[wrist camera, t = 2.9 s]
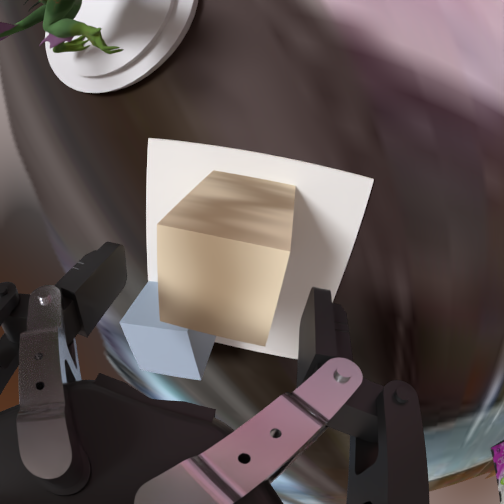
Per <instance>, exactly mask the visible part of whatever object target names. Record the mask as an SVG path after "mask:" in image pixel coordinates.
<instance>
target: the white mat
mask: <svg viewBox="0 0 504 504" xmlns="http://www.w3.org/2000/svg"><path fill="white" fill-rule="evenodd" d="M213 170H215V171H221V172H227V173H232V174H238V175H244V176H249V177H254V178H260V179H265V180H270V181H275V182H280V183H285V184H290V185H294V186H295V200H294V214H293V226H292V238H291V250H290V255H289V259H288V263H287V267H286V271H285V275H284V279H283V283H282V287H281V290H280V294H279V298H278V302H277V306H276V309H275V313H274V317H273V321H272V324H271V328H270V332H269V335H268V339H267V343H266V346H265V347H264V346H259V345H255V344H250V343H245V342H241V341H236V340H232V339H227V338H223V337H219V336H216V338H215V341H214V342H217V343H221V344H225V345H230V346H234V347H239V348H243V349H248V350H252V351H257V352H262V353H267V354H272V355H277V356H282V357H288V358H293V359H298V350H299V327H300V321H301V317H302V314H303V311H304V308H305V305H306V302H307V299H308V296H309V293H310V290H311V288H312V287H317V288H322V289H327V290H330V291H331V297H332V303H333V300H334V298H335V295H336V292H337V290H338V287H339V284H340V282H341V279H342V276H343V274H344V271H345V268H346V265H347V263H348V260H349V257H350V254H351V251H352V248H353V245H354V242H355V239H356V236H357V233H358V230H359V227H360V224H361V221H362V218H363V215H364V212H365V208H366V205H367V202H368V198H369V195H370V192H371V188H372V185H373V181H374V179H372V178H368V177H365V176H361V175H357V174H354V173H350V172H346V171H342V170H338V169H334V168H330V167H325V166H321V165H317V164H312V163H308V162H303V161H299V160H294V159H289V158H284V157H279V156H274V155H269V154H263V153H258V152H252V151H246V150H240V149H234V148H228V147H221V146H215V145H208V144H200V143H193V142H184V141H176V140H167V139H157V138H148V156H147V188H146V232H147V264H148V282H149V281H154V282H158V274H157V224H158V223H159V222H160V221H161V220H162V219H163V218H164V217H165V216H166V215H167V214H168V213H169V212H170V211H171V210H172V209H173V208H174V207H175V206H176V205H177V204H178V203H179V202H180V201H181V200H182V199H183V198H184V197H185V196H186V195H187V194H188V193H189V192H190V191H191V190H193V189H194V188H195V187H196V186H197V185H198V184H199V183H200V182H201V181H202V180H203V179H204V178H205V177H207V176H208V175H209V174H210V173H211V172H212V171H213Z"/></svg>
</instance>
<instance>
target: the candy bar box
mask: <svg viewBox="0 0 504 504" xmlns="http://www.w3.org/2000/svg"><path fill="white" fill-rule="evenodd" d="M491 452H492V456H493V461H494V466H495V471H496V477H497V483H498V489H499V496H500V504H504V441H502V442H500V443H499V444H497V445H495V446H494V447H492V448H491Z"/></svg>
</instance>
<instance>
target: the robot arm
mask: <svg viewBox="0 0 504 504" xmlns="http://www.w3.org/2000/svg"><path fill="white" fill-rule="evenodd" d="M126 280H127V270H126V258H125V248H124V246H123V245H120V244H116V243H111V242H106V243H105V244H104V245H103V246H101V247H100V248H99V249H98V250H95V251H93V252H91V253H89V254H87V255H85V256H84V257H83V258H82V259H81V260H80V261H79V263H77V264H76V265H75V266H74V267H73V268H71V269H70V270H69V271H68V272H67V273H66V274H65V275H64V276H63V277H62V278H61V279H60V280H59V281H58V282H57V284H55V286H52V285H45V286H42V287H39V288H37V289H36V290H34V291H33V292H32V293H31V295H30V294H18V292H17V289H16V286H15V285H14V284H13V283H11V282H3V283H0V326H1V325H2V327H3V330H4V332H5V333H4V335H3V336H2V337H1V338H0V394H1V393H2V391H3V389H4V388H5V386H6V384H7V383H8V381H9V379H10V378H11V376H12V375H13V373H14V371H15V370H16V369H17V367H18V365H19V403H20V404H19V405H16V406H14V407H11V408H9V409H6V410H4V411H2V412H0V504H283V502H282V501H281V499H280V498H279V496H278V495H277V493H276V492H275V490H274V489H273V487H272V486H271V484H270V483H272V482H273V481H274V480H275V479H276V478H277V477H278V476H280V475H281V474H282V473H283V472H284V471H285V470H286V469H287V468H288V467H289V466H290V465H291V464H292V463H293V462H294V461H295V460H296V459H297V458H298V457H299V456H300V455H301V454H302V453H303V452H304V451H305V450H306V449H307V448H308V447H309V446H310V445H311V444H312V443H313V442H314V441H315V440H316V439H317V438H318V437H319V436H320V435H321V434H322V433H323V432H324V431H325V430H326V429H327V428H328V427H331V428H333V429H336V430H338V431H341V432H343V433H346V434H349V435H350V458H349V476H348V491H347V503H346V504H429V484H428V469H427V458H426V448H425V440H424V432H423V425H422V418H421V411H420V405H419V399H418V395H417V393H416V391H415V389H414V388H413V387H412V386H411V385H409V384H408V383H406V382H404V381H400V380H393V381H390V382H389V383H387V384H386V386H385V387H384V386H382V385H379V384H377V383H374V382H371V381H369V380H367V379H365V378H364V377H363V376H362V372H361V370H360V368H359V367H358V366H357V365H356V364H355V363H354V362H353V357H352V349H351V341H350V334H349V327H348V320H347V314H346V312H345V311H344V309H343V308H342V306H341V305H340V304H334V303H332V297H331V291H330V290H327V289H322V288H317V287H312V288H311V290H310V293H309V296H308V299H307V302H306V305H305V308H304V311H303V314H302V317H301V321H300V327H299V350H298V372H297V389H296V390H295V391H293V392H292V393H289V392H286V393H284V394H282V395H281V396H280V397H278V398H277V399H276V400H275V401H273V402H272V403H271V404H270V405H268V406H267V407H266V408H264V409H263V410H262V411H261V412H259V413H258V414H257V415H255V416H254V417H253V418H251V419H250V420H249V421H247V422H246V423H245V424H243V425H242V426H241V427H239V428H238V429H236V430H235V431H234V430H233V429H232V428H231V427H229V426H228V425H227V424H225V423H224V422H222V421H220V420H218V419H216V418H215V410H216V409H212V408H208V407H203V406H199V405H196V404H192V403H188V402H184V401H168V400H156V399H151V398H148V397H147V396H145V395H144V394H142V393H140V392H139V391H137V390H136V389H134V388H132V387H131V386H129V385H128V384H126V383H124V382H122V381H119V380H116V379H114V378H111V377H109V376H106V375H104V374H101V373H99V375H98V376H97V378H96V380H82V379H81V375H80V369H79V363H78V355H77V347H76V341H75V337H76V335H77V334H80V335H82V336H85V337H88V336H89V334H90V333H91V331H92V330H93V329H94V327H95V326H96V324H97V323H98V322H99V320H100V319H101V318H102V316H103V315H104V313H105V312H106V311H107V309H108V308H109V307H110V305H111V304H112V303H113V301H114V300H115V299H116V297H117V296H118V295H119V293H120V292H121V291H122V289H123V288H124V286H125V284H126Z"/></svg>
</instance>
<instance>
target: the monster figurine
mask: <svg viewBox="0 0 504 504" xmlns="http://www.w3.org/2000/svg"><path fill="white" fill-rule="evenodd" d="M27 1H28V0H27ZM27 1H26V2H27ZM26 2H25V3H26ZM40 2H42V3H43V4H44V5H43V6H41V7H40V8H38V9H37V10H35V11H34V12H33V13H31V14H30V15H29V16H27V17H26V18H25V19H23V20H22V21H20V22H18V23H16V24H15V25H12V24H8V23H2V22H0V41H1V40H3V39H5V38H6V37H8V36H10V35H11V34H14V33H16V32H19V31H22V30H24V29H27V28H29V27H31V26H33V25H35V24H37V23H39V22H41V21H43V20H44V21H43V28H44V30H45V31H46V34H45V39H44V40H43V41H42V42H41V44H42V43H44V42H45V43H46V52H47V57H48V60H49V63H50V65H51V67H52V69H53V71H54V73H55V74H56V75H57V77H58V78H59V79H60V80H61V81H62V82H63V83H65V84H66V85H67V86H69V87H71V88H73V89H75V90H77V91H82V92H86V93H103V92H110V91H116V90H119V89H123V88H126V87H128V86H130V85H133V84H135V83H137V82H139V81H140V80H142V79H144V78H145V77H147V76H148V75H150V74H151V73H152V72H154V71H155V70H156V69H157V68H158V67H160V66H161V65H162V64H163V63H164V62H165V61H166V60H167V59H168V58H169V57H170V56H171V55H172V53H173V52H174V51H175V49H176V48H177V47H178V46H179V44H180V43H181V42H182V40H183V38H184V36H185V35H186V33H187V31H188V30H189V28H190V25H191V23H192V21H193V18H194V16H195V12H196V8H197V5H198V0H39V1H38V2H37V3H36V4H34V5H33V6H32V7H31V8H33V7H34V6H35V5H37V4H38V3H40ZM31 8H30V9H31ZM30 9H29V10H30ZM41 44H40V45H41Z"/></svg>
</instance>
